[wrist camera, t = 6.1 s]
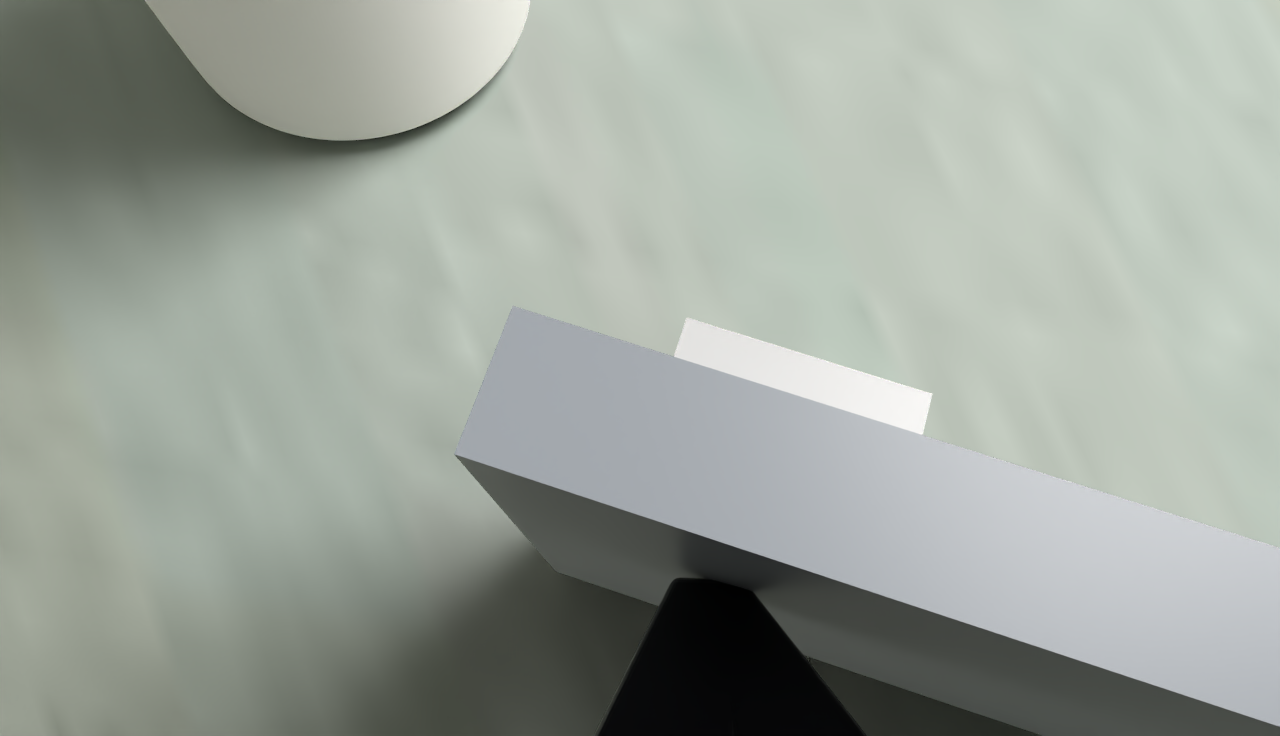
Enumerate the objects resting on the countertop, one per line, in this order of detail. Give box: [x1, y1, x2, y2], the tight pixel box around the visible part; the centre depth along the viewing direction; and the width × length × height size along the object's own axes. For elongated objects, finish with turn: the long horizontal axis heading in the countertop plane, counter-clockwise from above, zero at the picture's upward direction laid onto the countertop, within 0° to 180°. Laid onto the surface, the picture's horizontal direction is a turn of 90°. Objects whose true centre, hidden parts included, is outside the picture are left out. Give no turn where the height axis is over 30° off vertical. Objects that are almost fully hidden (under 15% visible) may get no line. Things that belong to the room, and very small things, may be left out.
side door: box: [454, 306, 1280, 736], centre depth 9 cm, size 13×2×9 cm, turn 72°
